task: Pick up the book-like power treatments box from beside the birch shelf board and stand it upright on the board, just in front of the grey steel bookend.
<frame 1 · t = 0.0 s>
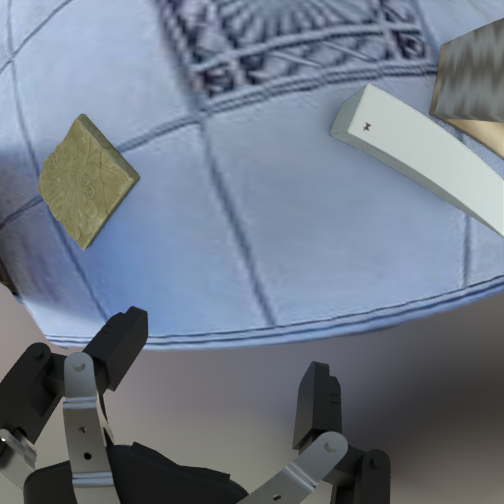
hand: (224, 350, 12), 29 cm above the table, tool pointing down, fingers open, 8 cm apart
skincare box: (401, 152, 33), on the table
decorative tile: (84, 179, 43), on the table
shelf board: (496, 116, 25), on the table
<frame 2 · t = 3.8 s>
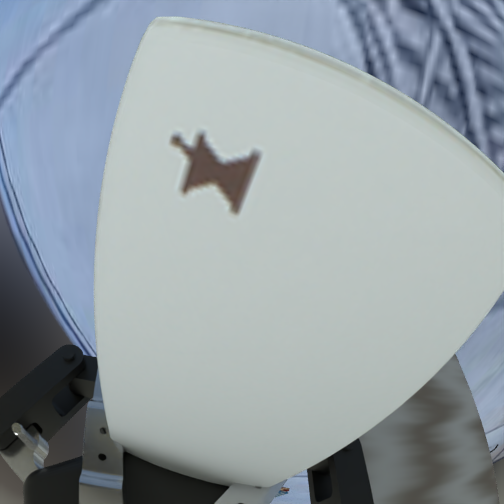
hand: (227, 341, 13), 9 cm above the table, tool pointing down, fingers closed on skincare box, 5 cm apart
skincare box: (256, 258, 21), on the table, touching gripper
woven mat: (261, 485, 46), on the table
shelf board: (339, 404, 26), on the table
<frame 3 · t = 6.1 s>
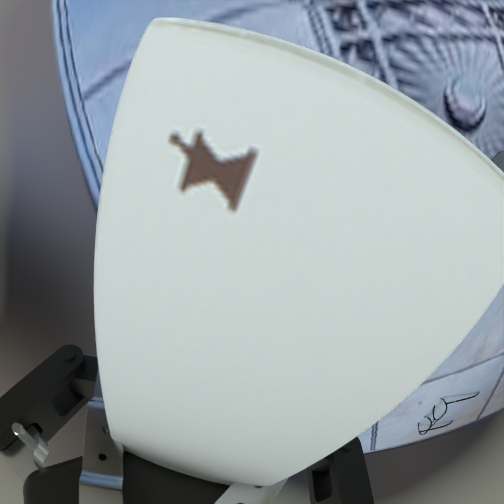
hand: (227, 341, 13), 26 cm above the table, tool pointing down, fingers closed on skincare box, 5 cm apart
glasses: (448, 407, 51), on the table
skincare box: (256, 257, 21), point 18 cm above the table, touching gripper
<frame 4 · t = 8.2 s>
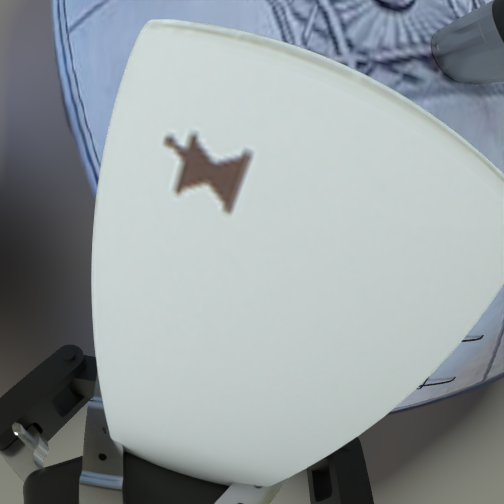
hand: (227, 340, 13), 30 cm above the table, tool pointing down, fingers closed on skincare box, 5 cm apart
skincare box: (256, 258, 21), point 21 cm above the table, touching gripper
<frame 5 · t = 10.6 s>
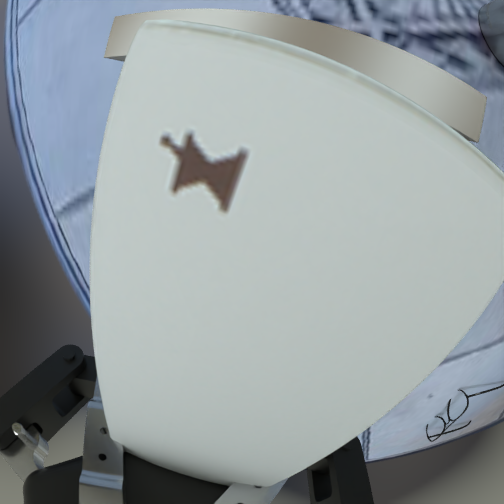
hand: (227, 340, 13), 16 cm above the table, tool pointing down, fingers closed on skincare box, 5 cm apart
glasses: (467, 403, 35), on the table
skincare box: (256, 258, 21), point 7 cm above the table, touching gripper
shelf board: (271, 220, 27), on the table
when the fingers open (12 cm above the table, at t = 12.5 s): skincare box drops 1 cm, resting on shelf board.
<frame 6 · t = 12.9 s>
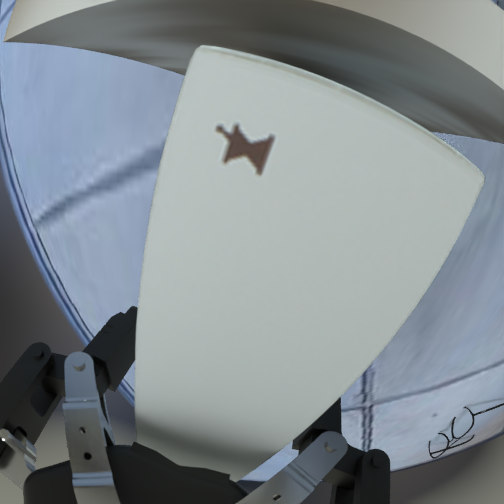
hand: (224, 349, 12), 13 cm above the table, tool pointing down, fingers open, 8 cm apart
glasses: (471, 418, 32), on the table
skincare box: (261, 249, 22), point 2 cm above the table, touching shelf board
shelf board: (265, 234, 23), on the table
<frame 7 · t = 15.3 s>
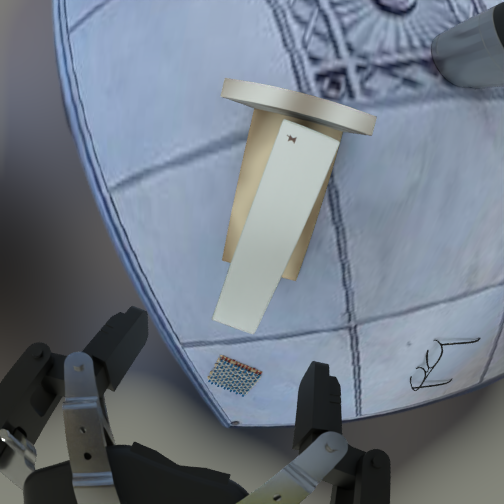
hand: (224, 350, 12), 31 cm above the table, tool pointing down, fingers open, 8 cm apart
glasses: (445, 358, 49), on the table
skincare box: (278, 197, 38), point 2 cm above the table, touching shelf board
woven mat: (235, 372, 60), on the table
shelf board: (280, 191, 40), on the table
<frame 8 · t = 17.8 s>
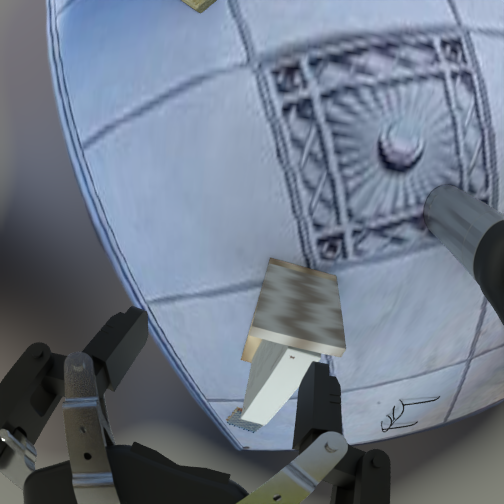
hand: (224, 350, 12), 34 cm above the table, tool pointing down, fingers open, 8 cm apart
glasses: (410, 408, 62), on the table
skincare box: (283, 328, 52), point 2 cm above the table, touching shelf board
woven mat: (247, 417, 73), on the table
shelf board: (284, 320, 54), on the table
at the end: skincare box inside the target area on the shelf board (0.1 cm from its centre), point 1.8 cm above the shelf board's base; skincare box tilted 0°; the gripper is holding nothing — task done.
